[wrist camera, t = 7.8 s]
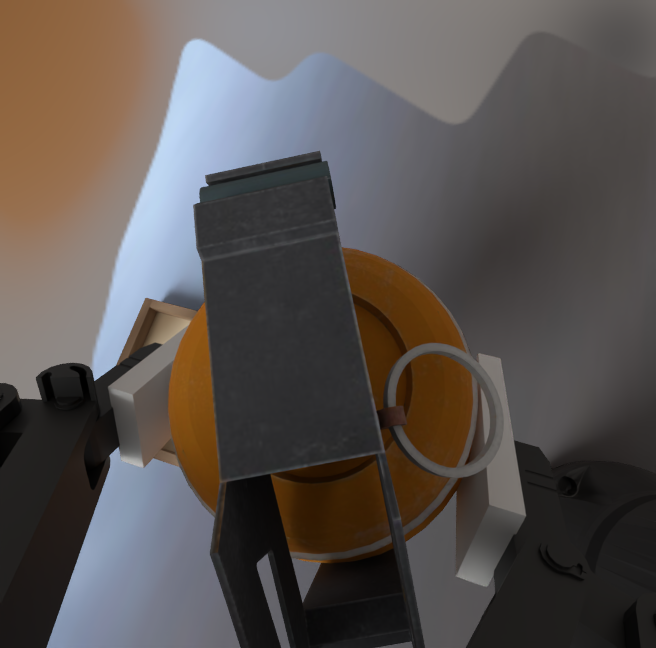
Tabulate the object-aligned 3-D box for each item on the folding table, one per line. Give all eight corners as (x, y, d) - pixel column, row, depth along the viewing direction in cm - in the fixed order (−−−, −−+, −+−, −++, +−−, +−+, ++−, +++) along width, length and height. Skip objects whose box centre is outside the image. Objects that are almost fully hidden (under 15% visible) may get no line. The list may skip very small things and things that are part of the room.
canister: (403, 343, 26) (498, 27, 7) (451, 534, 22) (916, 966, 3) (266, 370, 26) (-5, 138, 7) (290, 563, 23) (-120, 1109, 4)
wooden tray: (289, 339, 40) (284, 333, 37) (242, 483, 36) (234, 485, 34) (157, 305, 42) (145, 297, 40) (101, 436, 39) (85, 435, 36)
